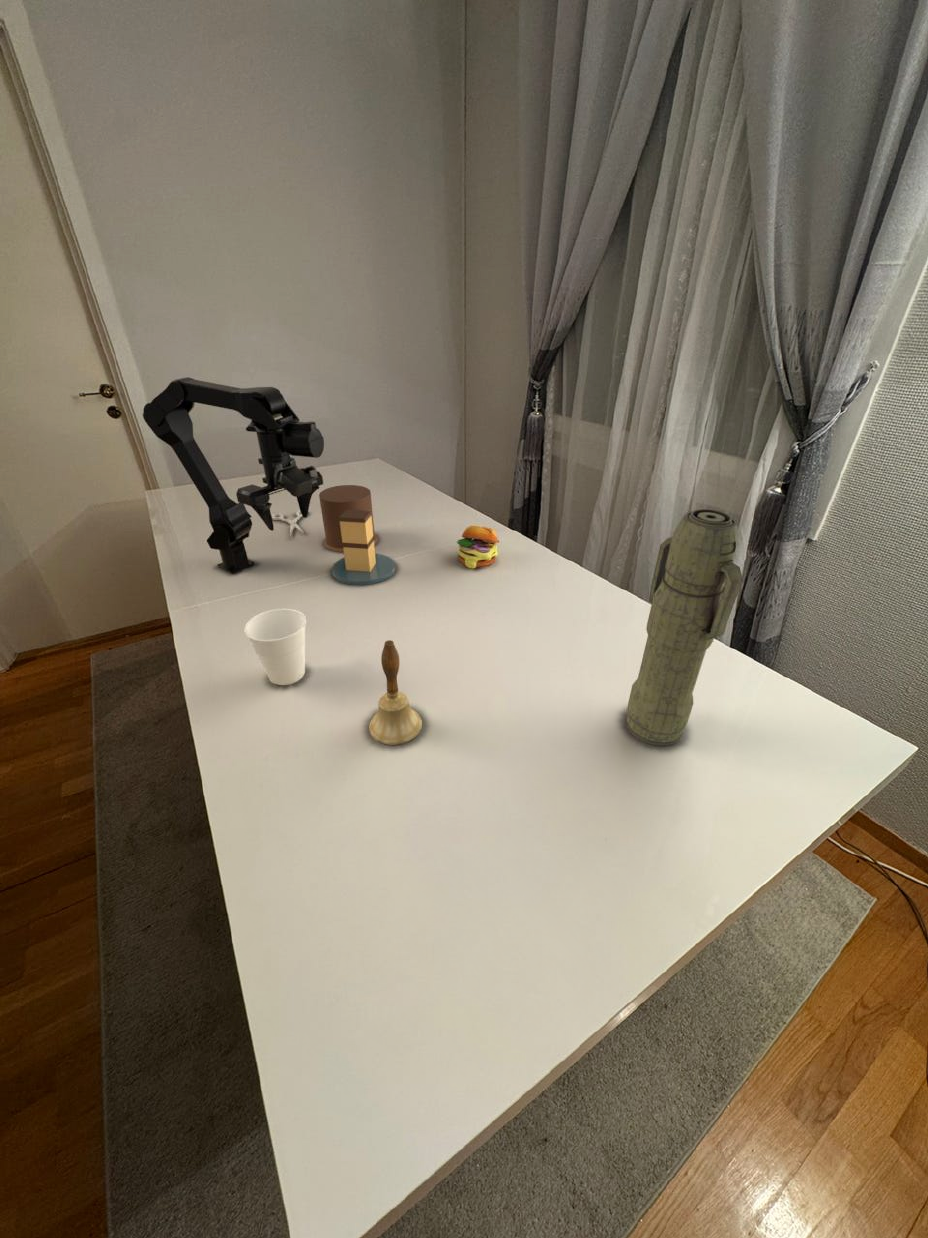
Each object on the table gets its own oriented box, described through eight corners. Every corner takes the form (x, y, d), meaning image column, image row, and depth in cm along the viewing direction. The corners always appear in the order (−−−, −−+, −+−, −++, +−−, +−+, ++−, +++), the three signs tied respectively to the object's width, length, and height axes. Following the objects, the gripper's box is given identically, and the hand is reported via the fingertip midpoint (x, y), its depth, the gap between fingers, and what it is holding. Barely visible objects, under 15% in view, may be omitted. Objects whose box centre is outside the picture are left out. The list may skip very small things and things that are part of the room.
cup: (263, 700, 86) (248, 647, 80) (253, 668, 94) (239, 616, 88) (322, 683, 90) (312, 631, 84) (308, 653, 98) (299, 603, 92)
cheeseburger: (449, 565, 128) (452, 525, 124) (465, 558, 137) (468, 520, 134) (488, 572, 125) (492, 531, 121) (501, 564, 134) (505, 525, 131)
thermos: (667, 762, 76) (736, 541, 57) (606, 715, 84) (648, 508, 65) (703, 737, 80) (779, 523, 61) (642, 695, 88) (692, 495, 69)
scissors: (304, 507, 159) (317, 531, 143) (305, 510, 159) (317, 533, 144) (268, 512, 155) (277, 537, 140) (269, 515, 156) (277, 540, 140)
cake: (313, 543, 139) (305, 495, 132) (351, 526, 148) (346, 480, 141) (350, 557, 132) (343, 506, 125) (387, 538, 142) (383, 491, 134)
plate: (319, 573, 125) (318, 569, 124) (364, 551, 135) (363, 547, 134) (364, 591, 117) (363, 587, 117) (407, 567, 128) (407, 563, 127)
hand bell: (374, 707, 85) (364, 626, 77) (424, 708, 85) (420, 627, 76) (364, 744, 78) (352, 660, 70) (419, 746, 78) (414, 662, 69)
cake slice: (346, 570, 124) (339, 517, 117) (352, 561, 128) (346, 509, 121) (370, 572, 123) (364, 518, 116) (376, 563, 127) (371, 511, 120)
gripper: (261, 471, 98) (277, 546, 107) (335, 450, 111) (344, 519, 119) (226, 461, 104) (244, 533, 112) (301, 442, 116) (312, 508, 125)
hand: (288, 523), depth 117 cm, fingers open, 9 cm apart
